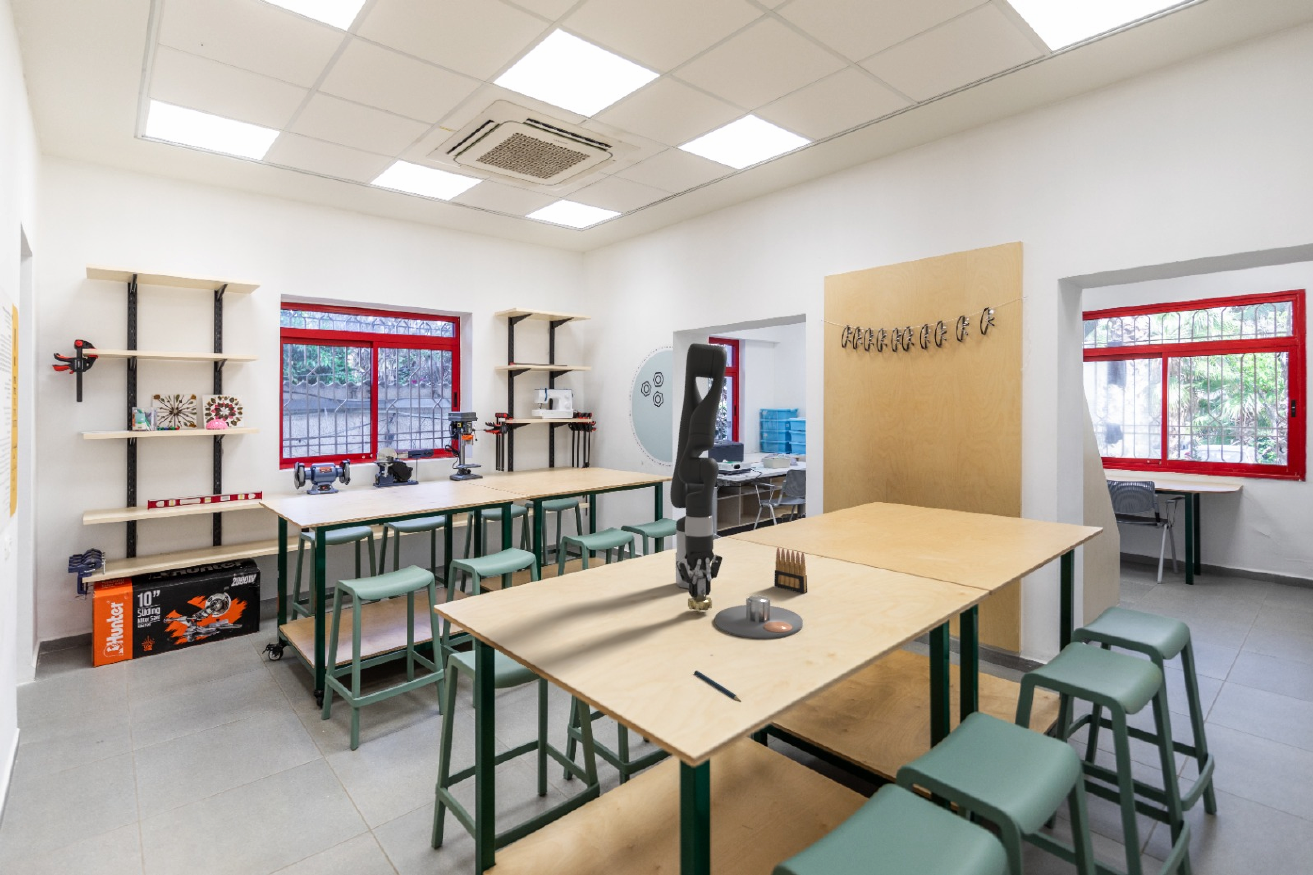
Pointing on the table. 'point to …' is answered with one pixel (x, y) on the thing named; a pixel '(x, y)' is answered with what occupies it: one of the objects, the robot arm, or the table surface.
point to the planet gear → (700, 596)
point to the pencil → (717, 685)
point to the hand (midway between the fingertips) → (699, 595)
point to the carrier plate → (758, 620)
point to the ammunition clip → (790, 572)
